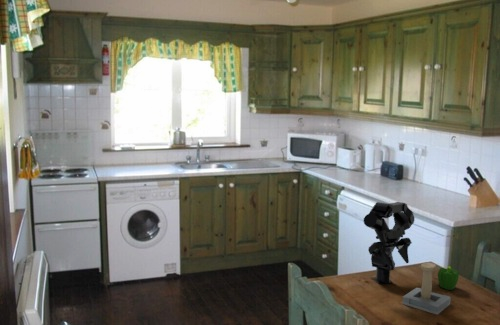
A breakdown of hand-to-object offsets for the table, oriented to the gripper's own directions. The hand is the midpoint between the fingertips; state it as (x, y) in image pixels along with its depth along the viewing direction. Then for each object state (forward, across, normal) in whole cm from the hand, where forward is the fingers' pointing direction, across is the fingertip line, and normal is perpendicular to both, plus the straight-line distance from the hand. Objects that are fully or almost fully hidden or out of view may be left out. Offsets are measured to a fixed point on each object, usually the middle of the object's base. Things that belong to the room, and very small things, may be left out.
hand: (399, 264), depth 205 cm
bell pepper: (+11, +26, +9) cm, 29 cm away
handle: (+16, +5, +2) cm, 17 cm away
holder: (+17, +6, +2) cm, 18 cm away
